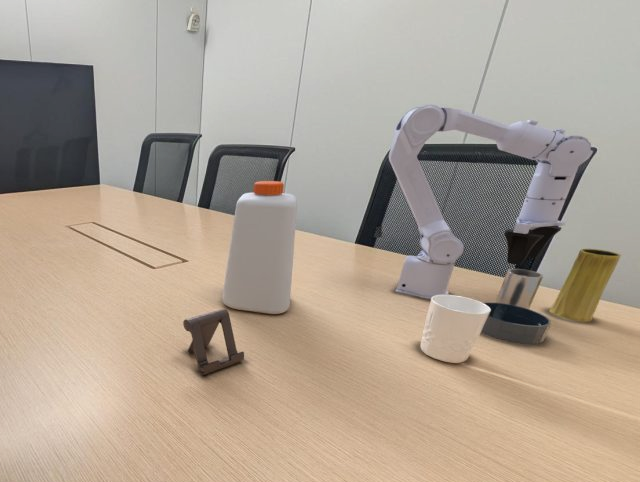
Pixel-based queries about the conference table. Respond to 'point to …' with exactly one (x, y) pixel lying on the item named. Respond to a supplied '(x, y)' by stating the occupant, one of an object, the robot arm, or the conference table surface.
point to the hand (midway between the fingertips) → (521, 260)
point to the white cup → (453, 327)
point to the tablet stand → (203, 333)
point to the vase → (585, 284)
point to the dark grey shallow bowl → (515, 324)
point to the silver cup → (519, 287)
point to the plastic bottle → (261, 250)
